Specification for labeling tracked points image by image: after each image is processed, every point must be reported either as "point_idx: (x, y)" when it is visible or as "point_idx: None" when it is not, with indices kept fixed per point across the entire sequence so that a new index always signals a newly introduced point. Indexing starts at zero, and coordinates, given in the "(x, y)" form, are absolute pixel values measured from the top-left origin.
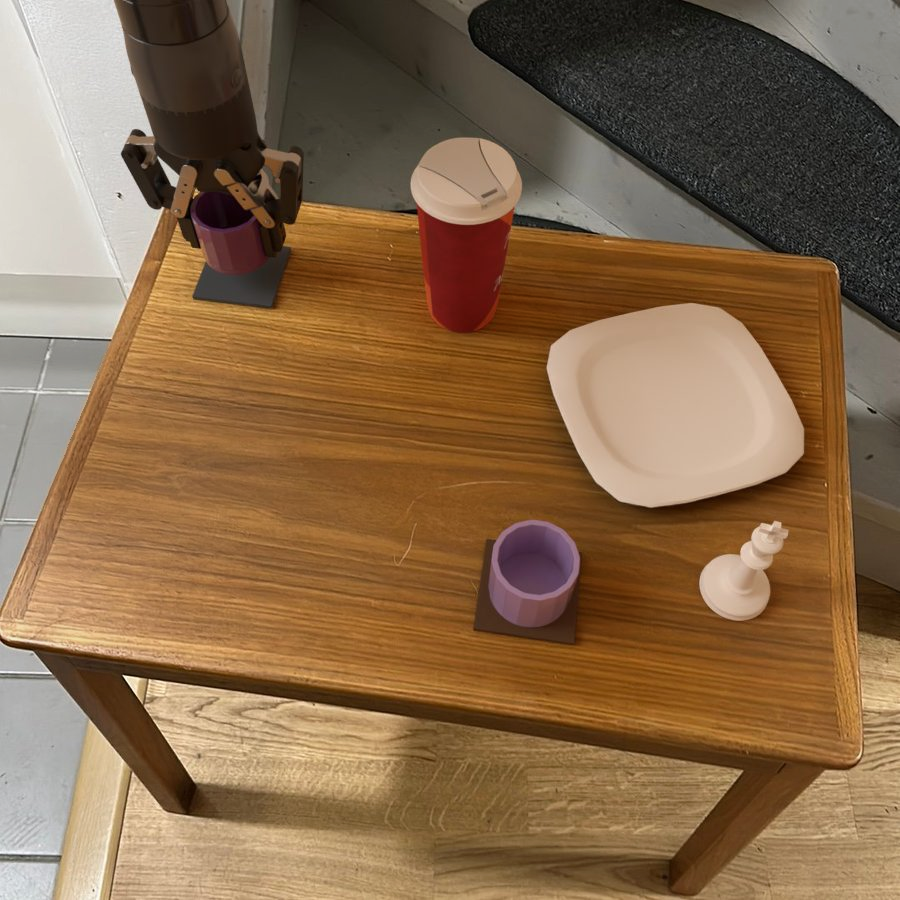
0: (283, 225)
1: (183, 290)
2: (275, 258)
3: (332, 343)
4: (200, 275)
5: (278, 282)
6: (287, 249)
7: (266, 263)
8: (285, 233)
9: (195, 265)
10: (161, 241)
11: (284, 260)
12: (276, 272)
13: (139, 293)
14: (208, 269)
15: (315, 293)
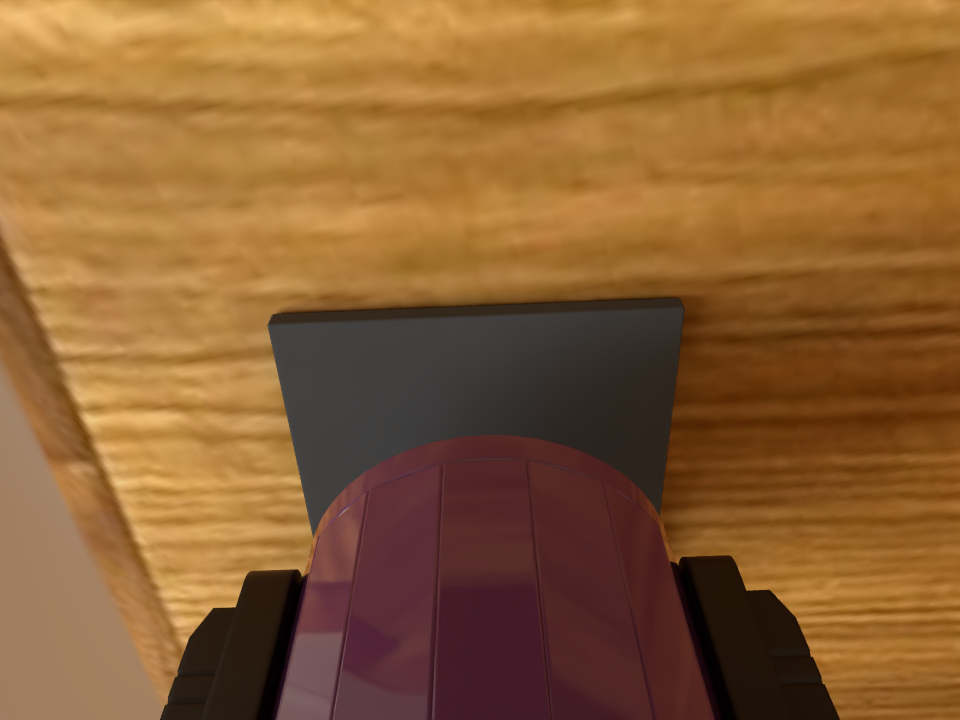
0: (830, 710)
1: (271, 562)
2: (619, 389)
3: (884, 647)
4: (310, 522)
5: (660, 501)
6: (670, 327)
7: (581, 421)
8: (803, 638)
9: (252, 454)
10: (10, 362)
11: (666, 392)
12: (639, 454)
13: (115, 598)
14: (330, 495)
15: (816, 490)
